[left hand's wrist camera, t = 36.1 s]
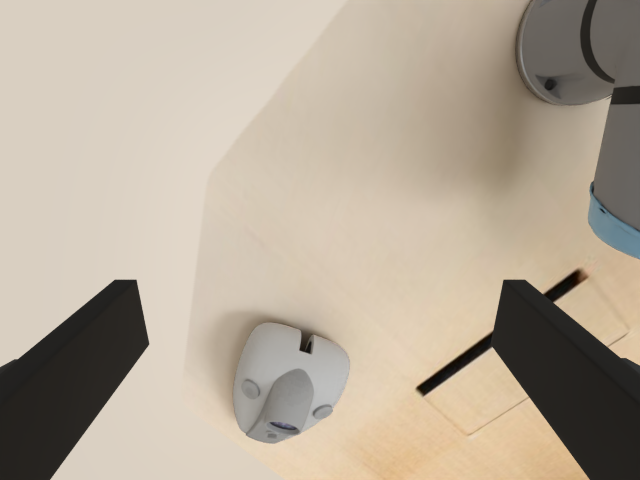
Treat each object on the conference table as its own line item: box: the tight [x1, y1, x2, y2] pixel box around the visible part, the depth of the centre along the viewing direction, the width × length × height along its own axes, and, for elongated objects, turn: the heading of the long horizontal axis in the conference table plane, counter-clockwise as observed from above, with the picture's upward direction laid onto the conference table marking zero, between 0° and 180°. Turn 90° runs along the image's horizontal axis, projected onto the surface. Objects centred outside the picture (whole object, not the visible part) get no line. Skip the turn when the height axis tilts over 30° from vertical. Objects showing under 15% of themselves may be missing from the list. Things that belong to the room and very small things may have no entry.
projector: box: [233, 322, 350, 444], centre depth 52 cm, size 22×23×15 cm
